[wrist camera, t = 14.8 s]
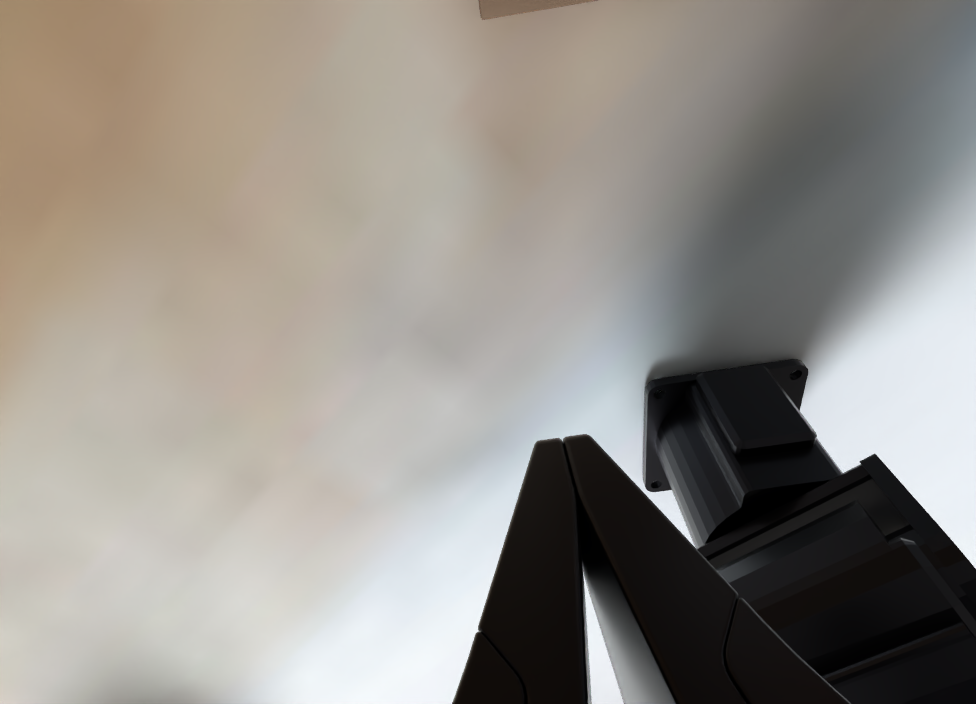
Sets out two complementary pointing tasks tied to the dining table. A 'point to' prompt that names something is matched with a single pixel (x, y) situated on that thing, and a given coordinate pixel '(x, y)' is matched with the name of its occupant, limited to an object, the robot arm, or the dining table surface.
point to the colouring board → (519, 6)
